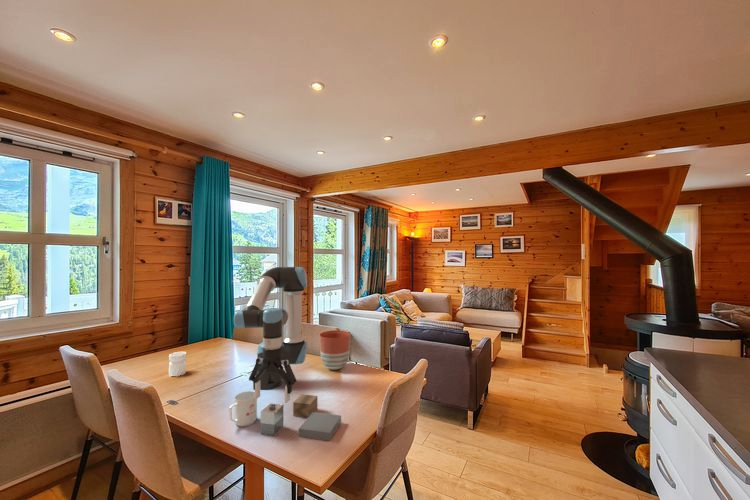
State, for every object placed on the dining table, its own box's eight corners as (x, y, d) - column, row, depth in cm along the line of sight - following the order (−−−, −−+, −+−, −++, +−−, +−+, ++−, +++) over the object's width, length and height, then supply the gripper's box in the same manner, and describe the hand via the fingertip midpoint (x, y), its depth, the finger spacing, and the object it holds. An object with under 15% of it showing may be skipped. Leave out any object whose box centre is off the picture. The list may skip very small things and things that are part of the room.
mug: (248, 414, 136) (248, 389, 136) (261, 420, 132) (261, 394, 132) (222, 427, 126) (223, 400, 126) (236, 433, 121) (236, 405, 122)
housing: (260, 434, 121) (260, 409, 121) (270, 424, 128) (270, 401, 128) (274, 436, 120) (274, 411, 120) (283, 426, 127) (283, 402, 127)
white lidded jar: (169, 378, 177) (170, 357, 177) (167, 373, 183) (167, 353, 184) (187, 374, 183) (187, 354, 183) (184, 370, 189) (184, 350, 189)
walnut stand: (293, 415, 135) (293, 402, 135) (301, 407, 143) (301, 394, 143) (309, 418, 133) (310, 404, 133) (317, 408, 141) (317, 395, 141)
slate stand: (298, 436, 120) (298, 428, 120) (312, 419, 132) (312, 412, 132) (329, 440, 117) (329, 432, 117) (341, 422, 129) (341, 415, 130)
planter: (356, 366, 195) (356, 332, 195) (337, 376, 179) (337, 340, 179) (333, 360, 205) (333, 328, 206) (312, 370, 189) (312, 335, 189)
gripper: (240, 347, 124) (239, 400, 123) (296, 351, 118) (295, 407, 118) (251, 342, 131) (251, 392, 131) (304, 346, 125) (304, 398, 125)
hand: (272, 399), depth 124 cm, fingers open, 13 cm apart
